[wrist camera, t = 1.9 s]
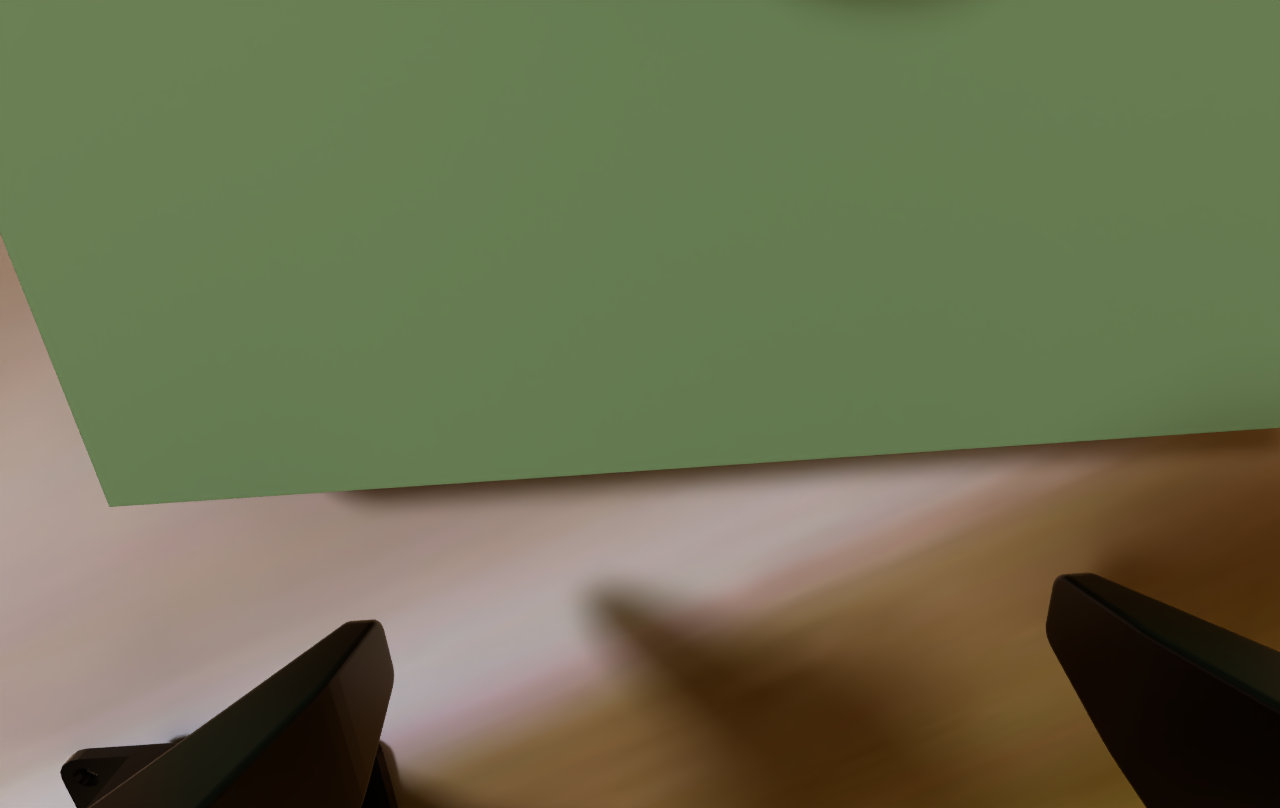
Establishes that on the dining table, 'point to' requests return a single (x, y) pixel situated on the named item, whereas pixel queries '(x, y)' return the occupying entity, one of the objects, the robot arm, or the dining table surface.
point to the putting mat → (635, 231)
